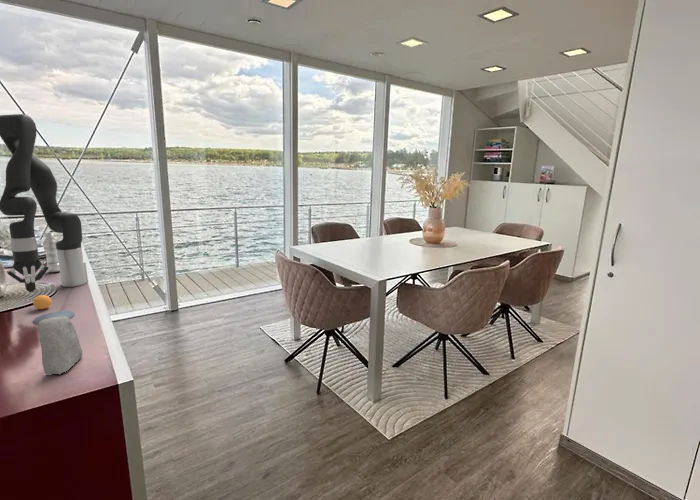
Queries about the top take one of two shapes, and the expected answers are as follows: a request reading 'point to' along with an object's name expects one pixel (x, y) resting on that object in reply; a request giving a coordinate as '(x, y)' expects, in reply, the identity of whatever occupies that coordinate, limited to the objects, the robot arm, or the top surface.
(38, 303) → the ball
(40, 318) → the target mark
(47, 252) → the plastic bottle
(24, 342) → the top surface
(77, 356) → the decorative stone
